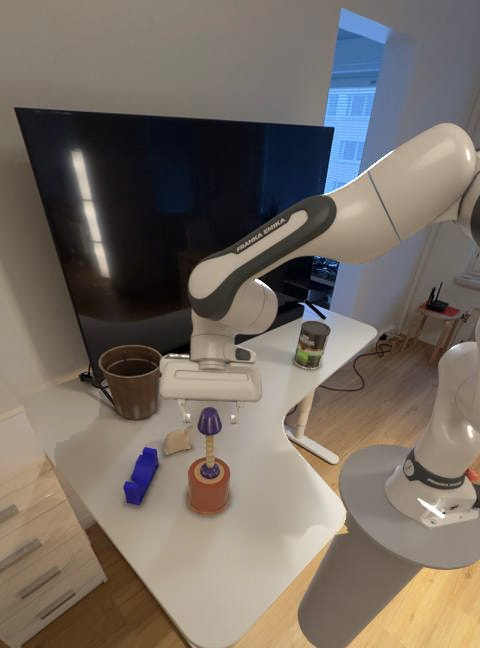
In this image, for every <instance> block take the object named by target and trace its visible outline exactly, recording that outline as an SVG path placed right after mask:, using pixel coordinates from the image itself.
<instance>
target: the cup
mask: <svg viewBox="0 0 480 648" xmlns="http://www.w3.org/2000/svg"><path fill="white" fill-rule="evenodd" d="M204 463H206V456H203V457H200V458H198V459H196V460H194V461H193V462H192V463H191V464H190V466H189V467H188V470H187V475H188V477H187V479H188V481H187V484H188V491H187V495H186V497H187V504H188V505H189V507H190V508H191V510H193V511H194V512H196V513H197V514H200V515H204V516H213V515H216V514H219V513H221V512H222V511H223V510H225V508H226V507H227V506H228V504H229V501H230V492H229V491H230V490H229V489H230V480H231V469H230V467H229V465H228V464H227V462H225V461H224V460H223V459H221V458H218V457H215V456H214V463H216V464H217V465H218V466H219V468H220V474H219V475H218V476H217V477H216V478H214V479H206V478H204V477H203V476H202V475H201V474H200V469H201V467H202V465H203V464H204Z"/></svg>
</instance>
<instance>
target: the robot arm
mask: <svg viewBox="0 0 480 648" xmlns="http://www.w3.org/2000/svg"><path fill="white" fill-rule="evenodd" d="M444 221H452V222H453V223H454V224H455V225H456V227H457V228H458V230H459V231H460V232H461V234H462V235H464V237H465V238H466V239H468V240H470V241H472V242H474V243H475V244H476V246H477V247H479V248H480V147H475V145H474V142H473V140H472V138H471V137H470V135H469V134H468V133H467V132H466V130H464V129H463V128H462V127H461V126H459V125H457V124H455V123H452V122H442V123H438V124H435V125H433V126H432V127H429V128H428V129H426V130H424V131H422V132H420V133H419V134H417V135H416V136H414V137H412V138H411V139H409V140H407V141H406V142H404V143H403V144H401V145H399V146H398V147H396V148H395V149H394V150H392V151H390V152H389V153H388V154H386V155H385V156H384V157H382V158H381V159H379V160H378V161H377V162H376V163H374V164H373V165H371V166H370V167H369V168H368V169H367V170H365V171H364V172H362V173H361V174H360V175H359V176H357V177H356V178H355V179H353V180H351V181H350V182H348V183H346V184H345V185H343V186H341V187H339V188H337V189H335V190H332V191H330V192H328V193H324V194H316V195H315V194H314V195H311V196H308V197H306V198H304V199H302V200H300V201H298V202H296V203H295V204H293V205H291V206H290V207H288V208H287V209H285V210H283V211H282V212H280V213H279V214H277V215H276V216H274V217H273V218H271V219H270V220H268V221H266V222H265V223H264V224H262V225H261V226H259V227H257V228H256V229H255V230H253V231H252V232H250V233H248V234H247V235H245V236H244V237H243V238H241V239H239V240H238V241H236V242H235V243H234V244H231V245H230V246H229V247H226V248H225V249H223V250H220V251H216V252H214V253H212V254H210V255H207V256H206V257H204V258H202V259H201V260H200V261H198V263H196V264H195V266H194V267H193V268H192V270H191V271H190V274H189V276H188V280H187V285H186V287H187V289H186V290H187V297H188V301H189V303H190V306H191V313H190V314H191V315H190V316H191V323H192V332H191V335H190V353H172V352H170V353H167V354H166V355H162V358H161V360H160V366H159V369H160V372H161V375H160V381H159V396H160V397H161V398H162V399H164V401H165V400H166V401H177V406H178V408H179V410H180V412H181V413H182V423H183V424H191V423H192V419H191V418H192V414H191V413H187V412H186V410H185V408H184V407H185V406H186V402H187V401H191V402H218V403H219V402H220V403H221V402H223V403H235V408H238V409H237V410H236V412H235V413H234V414H231V415H230V416H229V418H230V421H229V424H230V425H238V424H239V416H240V414H241V412H242V411H243V409H244V407H245V403H250V404H251V403H252V404H256V403H258V402H259V401H260V400H261V399H262V397H263V385H262V376H261V371H260V369H259V368H258V365H256V362H257V353H256V352H255V351H253V350H250V349H249V348H245V347H242V346H239V345H238V344H235V338H236V336H237V335H246V336H250V335H251V336H252V335H254V336H255V335H261V334H263V333H265V332H266V331H268V330H269V329H270V328H271V327H272V325H273V324H274V322H275V320H276V318H277V316H278V312H279V299H278V296H277V293H276V292H275V291H274V290H273V289H271V288H270V286H268V285H267V284H265V283H264V282H262V281H261V280H260V279H259V278H261V277H263V276H264V275H266V274H267V273H269V272H272V271H273V270H275V269H276V268H278V267H280V266H281V265H283V264H285V263H286V262H288V261H290V260H293V259H295V258H300V257H318V258H319V257H321V258H326V259H328V260H333V261H335V262H339V263H342V264H346V265H362V264H365V263H368V262H371V261H373V260H376V259H377V258H380V257H382V256H383V255H385V254H387V253H388V252H390V251H392V250H393V249H395V248H396V247H398V246H399V245H400V244H402V243H404V242H405V241H407V240H409V239H410V238H411V237H413V236H414V235H416V234H417V233H418V232H420V231H421V230H423V229H424V228H427V227H430V226H431V225H434V224H436V223H440V222H444ZM474 329H475V330H474V337H475V341H464V342H461V343H458V344H456V345H454V346H452V347H450V348H449V349H447V351H445V353H443V355H442V356H441V357H440V359H439V361H438V364H437V371H438V372H437V373H438V383H437V391H436V394H435V395H436V396H435V399H434V405H433V410H432V413H431V416H430V419H429V421H428V424H427V426H426V428H425V429H424V432H423V433H422V435H421V437H420V438H419V440H418V442H417V443H415V444H414V445H413V447H412V448H411V450H410V452H409V454H408V455H407V457H406V459H405V460H404V462H403V463H402V464H401V465H400V466H398V467H397V468H396V469H395V471H394V474H393V475H392V476H390V477H389V478H388V479H387V480H386V482H385V485H384V490H385V494H386V497H387V498H388V500H389V502H390V503H391V504H392V505H393V506H394V507H395V508H396V509H397V510H398V511H399V512H401V513H402V514H404V515H406V516H408V517H410V518H412V519H414V520H416V521H417V522H418V523H419V524H420V525H422V526H423V527H424V528H426V529H429V530H431V529H436V528H441V527H445V526H450V525H455V524H460V523H464V522H469V521H474V520H476V519H477V518H478V509H477V508H479V509H480V484H479V483H473V482H477V481H478V480H479V479H480V477H479V475H478V474H477V473H476V471H475V470H473V469H470V467H471V466H472V465H473V463H474V461H475V460H476V459H477V458H478V457H479V455H480V316H479V317H478V319H477V322H476V325H475V328H474ZM432 523H433V524H432Z"/></svg>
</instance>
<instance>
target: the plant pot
mask: <svg viewBox="0 0 480 648" xmlns="http://www.w3.org/2000/svg"><path fill="white" fill-rule="evenodd" d="M162 357H163V355H162V354H161V353H160V352H159V351H158V350H156V349H155V348H152V347H149V346H146V345H141V344H126V345H119V346H116V347H115V346H114V347H112V348H110V349H108V350H107V351H105V352H103V353H102V354H101V355H100V357H99V358H98V367H99V369H100V370H101V371H102V374H103V377H104V379H105V381H106V382H107V385H108V389H109V392H110V395H111V398H112V401H113V405H114V409H115V411H116V413H117V414H118V416H120V417H123V418H125V420H126V419H127V420H130V421H140V420H145V419H147V418H150V417H151V416H152V415H153V414H155V413H157V411H158V409H159V399H160V398H159V397H160V379H161V376H162V374H161V372H160V369H159V366H160V360H161V358H162Z"/></svg>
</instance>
